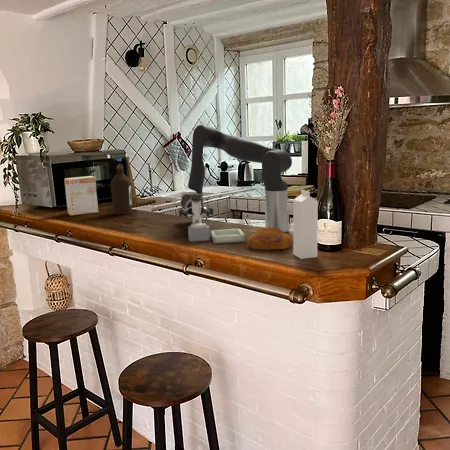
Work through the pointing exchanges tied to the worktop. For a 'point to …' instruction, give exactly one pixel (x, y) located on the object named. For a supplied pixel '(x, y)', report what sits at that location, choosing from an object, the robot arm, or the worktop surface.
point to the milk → (305, 226)
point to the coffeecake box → (81, 195)
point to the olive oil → (121, 193)
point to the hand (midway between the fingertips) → (197, 214)
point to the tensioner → (198, 232)
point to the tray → (227, 236)
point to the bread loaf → (269, 239)
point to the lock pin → (196, 207)
